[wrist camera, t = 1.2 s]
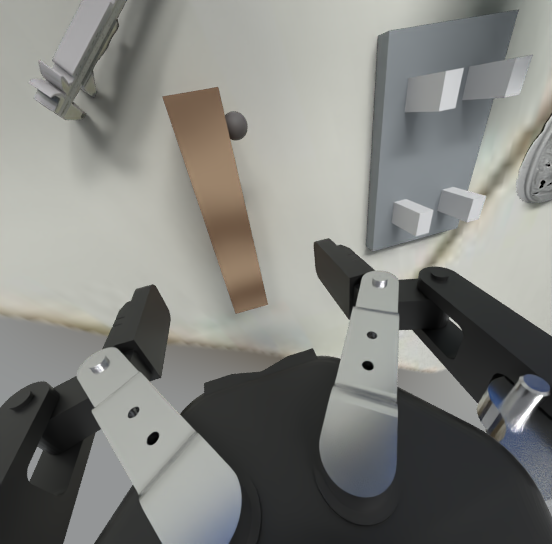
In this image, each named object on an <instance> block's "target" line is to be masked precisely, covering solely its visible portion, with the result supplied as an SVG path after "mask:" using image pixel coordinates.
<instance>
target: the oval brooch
mask: <svg viewBox="0 0 552 544" xmlns="http://www.w3.org/2000/svg"><path fill="white" fill-rule="evenodd" d="M548 162H549V163H548ZM546 164H550V166H546ZM538 168H539V169H540V170H539V169H538ZM542 180H545V184H544V185H543V188H540V189H539V187H540V185H541V184H540V183H541V181H542ZM551 182H552V116H551V117H550V119H549V120H548V121H547V123H546V124H545V128H544V130H543V132H542V133H541V134H540V135H539V136H538V138H537V139H536V140H535V141H534V142H533V144H532V146H531V147H530V149H529V150H528V152H527V154H526V156H525V158H524V161H523V162H522V165H521V167H520V169H519V174H518V178H517V180H516V192H517V193H518V194H517V195H518V197H519V198H520V199H521V200H522V201H525V202H530V203H531V202H532V203H540V202H546V201H549V200H552V184H551V185H549V186H547V185H548V184H550V183H551ZM536 192H539V193H538V194H533V193H536ZM532 195H535V196H532Z"/></svg>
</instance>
